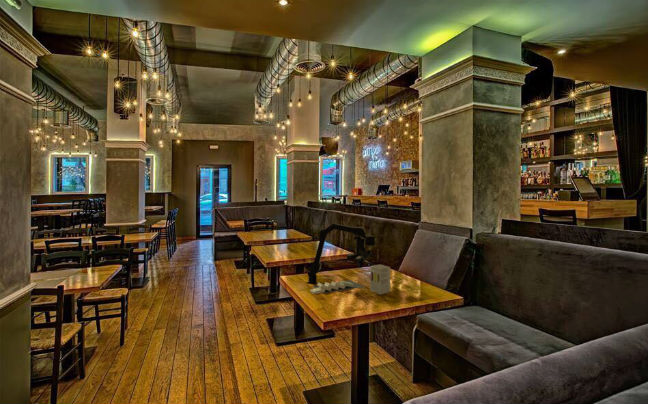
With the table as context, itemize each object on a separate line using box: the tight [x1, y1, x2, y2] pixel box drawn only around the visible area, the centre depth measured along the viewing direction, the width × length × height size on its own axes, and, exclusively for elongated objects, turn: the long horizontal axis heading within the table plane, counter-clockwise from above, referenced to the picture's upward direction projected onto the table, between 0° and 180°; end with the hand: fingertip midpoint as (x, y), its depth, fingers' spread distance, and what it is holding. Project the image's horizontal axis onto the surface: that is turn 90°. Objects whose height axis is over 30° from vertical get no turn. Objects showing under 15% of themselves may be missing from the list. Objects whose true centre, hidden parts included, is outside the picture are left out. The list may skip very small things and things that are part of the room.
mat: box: [311, 279, 366, 294], centre depth 236 cm, size 18×32×1 cm, turn 119°
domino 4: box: [331, 280, 345, 289], centre depth 231 cm, size 5×2×8 cm
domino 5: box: [339, 280, 354, 287], centre depth 234 cm, size 5×2×8 cm
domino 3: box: [324, 281, 339, 290], centre depth 228 cm, size 5×2×8 cm
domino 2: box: [316, 282, 332, 291], centre depth 225 cm, size 5×2×8 cm
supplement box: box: [369, 264, 391, 295], centre depth 226 cm, size 10×9×17 cm
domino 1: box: [309, 287, 325, 295], centre depth 223 cm, size 5×2×8 cm
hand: (360, 267), depth 239 cm, fingers closed
